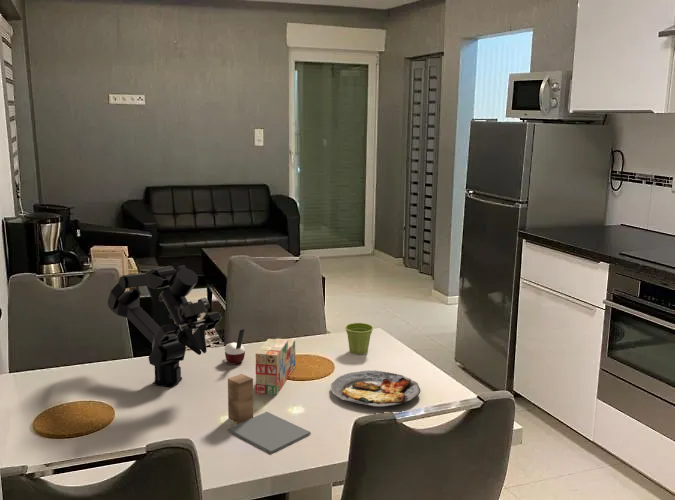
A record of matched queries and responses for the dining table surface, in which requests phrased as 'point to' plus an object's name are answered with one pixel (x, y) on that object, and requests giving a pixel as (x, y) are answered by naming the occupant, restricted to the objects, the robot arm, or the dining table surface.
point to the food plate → (375, 388)
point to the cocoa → (235, 350)
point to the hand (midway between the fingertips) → (202, 353)
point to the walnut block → (240, 398)
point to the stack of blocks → (274, 365)
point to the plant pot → (358, 337)
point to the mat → (269, 432)
